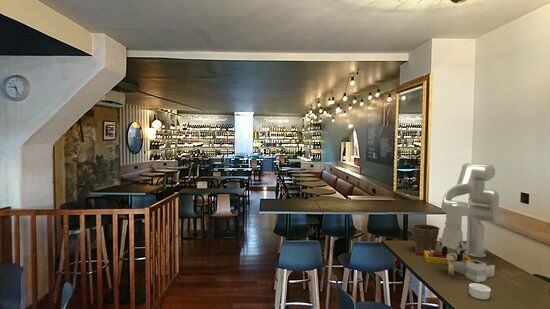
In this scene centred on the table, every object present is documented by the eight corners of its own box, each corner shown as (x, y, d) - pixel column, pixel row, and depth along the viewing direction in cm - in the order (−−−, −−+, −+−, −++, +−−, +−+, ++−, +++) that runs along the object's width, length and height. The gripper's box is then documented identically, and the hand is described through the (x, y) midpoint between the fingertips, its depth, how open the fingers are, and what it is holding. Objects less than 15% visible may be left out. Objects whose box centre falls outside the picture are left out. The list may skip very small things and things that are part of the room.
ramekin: (482, 292, 170) (483, 283, 170) (494, 300, 161) (495, 291, 161) (464, 291, 170) (464, 282, 170) (475, 300, 161) (476, 290, 161)
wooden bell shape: (450, 272, 195) (451, 252, 194) (458, 275, 190) (459, 255, 189) (443, 273, 193) (444, 253, 192) (451, 276, 188) (452, 256, 187)
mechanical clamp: (416, 244, 225) (469, 250, 216) (416, 254, 225) (469, 260, 217) (419, 253, 207) (477, 259, 199) (419, 264, 207) (476, 270, 199)
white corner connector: (471, 267, 203) (472, 251, 202) (499, 278, 187) (500, 261, 187) (449, 270, 197) (450, 254, 196) (476, 282, 181) (477, 264, 181)
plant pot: (405, 248, 235) (406, 224, 234) (426, 247, 240) (427, 223, 239) (423, 256, 219) (424, 230, 219) (444, 254, 224) (445, 229, 224)
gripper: (435, 223, 197) (433, 253, 197) (462, 230, 181) (460, 264, 181) (445, 222, 199) (443, 252, 200) (472, 229, 183) (471, 262, 184)
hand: (451, 258), depth 191 cm, fingers open, 9 cm apart
